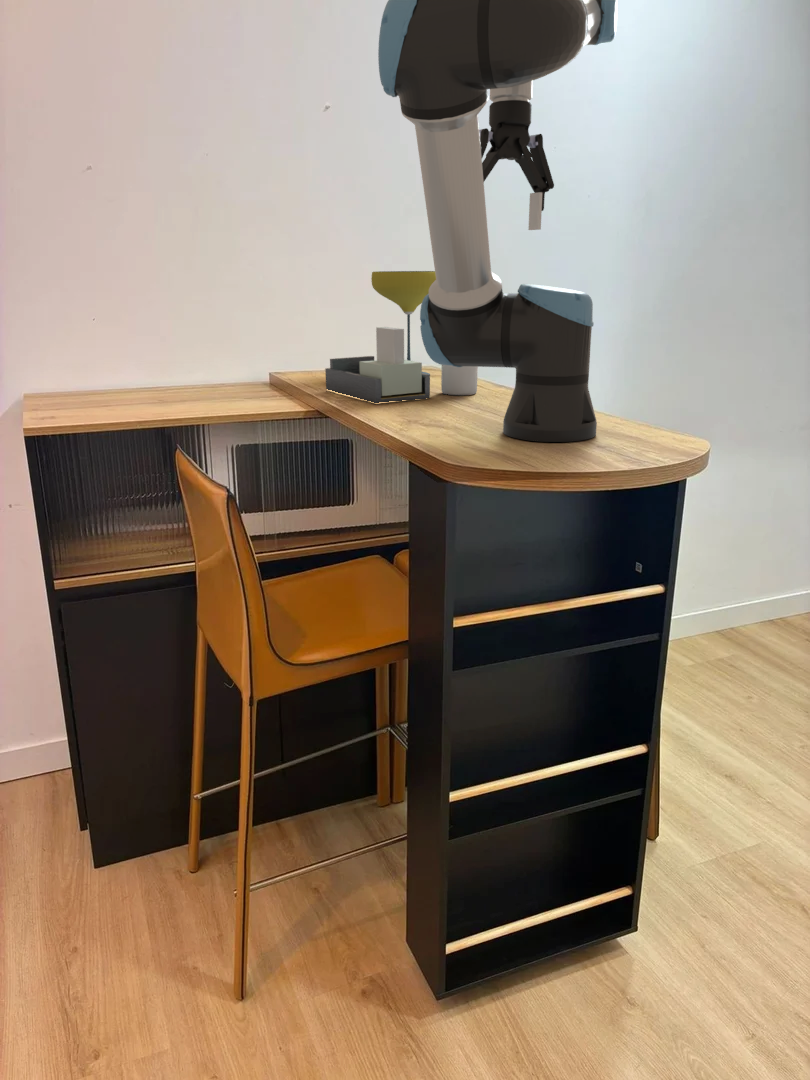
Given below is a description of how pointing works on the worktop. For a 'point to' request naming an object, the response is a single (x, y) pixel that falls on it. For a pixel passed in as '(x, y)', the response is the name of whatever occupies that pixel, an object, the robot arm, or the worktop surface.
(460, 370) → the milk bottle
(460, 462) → the worktop surface
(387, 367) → the block with upright handle
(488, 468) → the worktop surface
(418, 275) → the cocktail glass
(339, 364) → the bay
